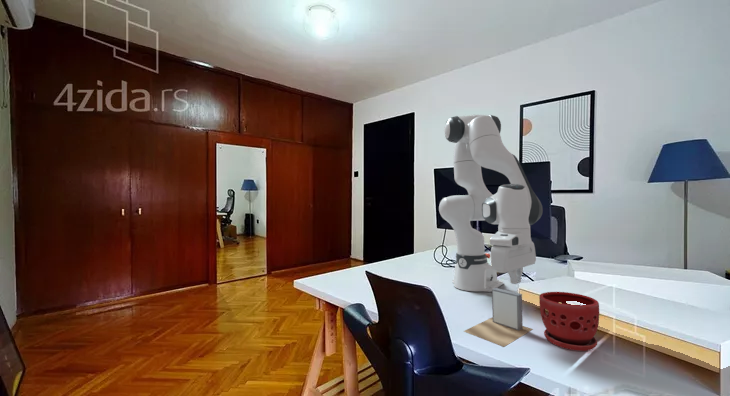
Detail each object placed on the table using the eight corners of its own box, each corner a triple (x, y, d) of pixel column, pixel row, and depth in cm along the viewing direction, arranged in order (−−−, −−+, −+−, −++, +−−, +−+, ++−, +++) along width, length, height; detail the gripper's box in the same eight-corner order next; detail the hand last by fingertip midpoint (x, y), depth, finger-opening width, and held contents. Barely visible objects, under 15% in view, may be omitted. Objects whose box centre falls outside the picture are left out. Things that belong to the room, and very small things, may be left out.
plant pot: (610, 346, 79) (609, 299, 79) (581, 361, 73) (580, 310, 72) (558, 328, 90) (557, 286, 90) (529, 338, 84) (528, 294, 84)
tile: (496, 320, 95) (495, 287, 95) (522, 328, 89) (521, 294, 89) (492, 322, 94) (491, 289, 94) (518, 330, 88) (518, 295, 88)
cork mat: (493, 318, 98) (493, 316, 98) (533, 331, 89) (533, 329, 89) (463, 333, 88) (463, 331, 88) (503, 349, 79) (503, 346, 79)
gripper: (520, 233, 103) (521, 275, 103) (486, 239, 91) (487, 287, 90) (540, 235, 98) (542, 278, 98) (507, 241, 86) (508, 291, 85)
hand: (515, 282), depth 94 cm, fingers closed
